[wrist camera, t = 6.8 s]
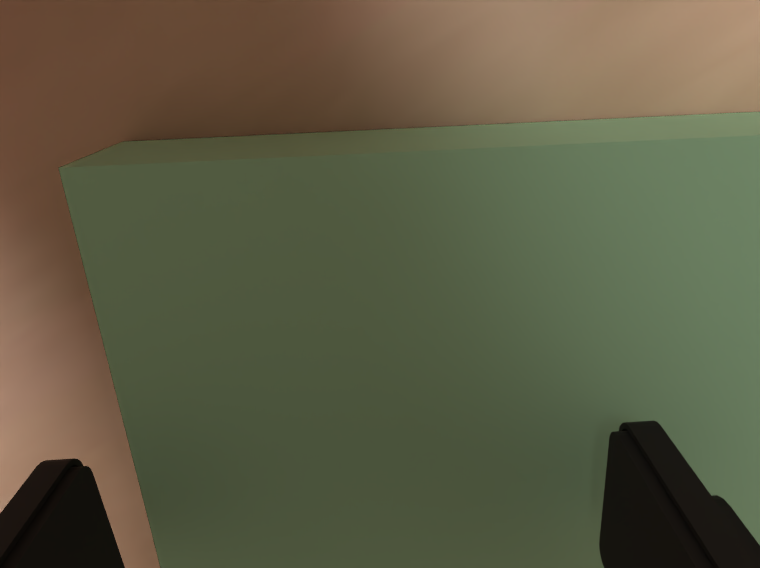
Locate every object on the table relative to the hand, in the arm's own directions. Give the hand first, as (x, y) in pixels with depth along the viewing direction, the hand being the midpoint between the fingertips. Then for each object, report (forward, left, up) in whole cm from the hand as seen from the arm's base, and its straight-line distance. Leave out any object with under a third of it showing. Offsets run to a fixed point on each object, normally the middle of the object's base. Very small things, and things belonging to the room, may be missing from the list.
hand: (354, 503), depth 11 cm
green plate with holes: (0, +7, -3) cm, 8 cm away
